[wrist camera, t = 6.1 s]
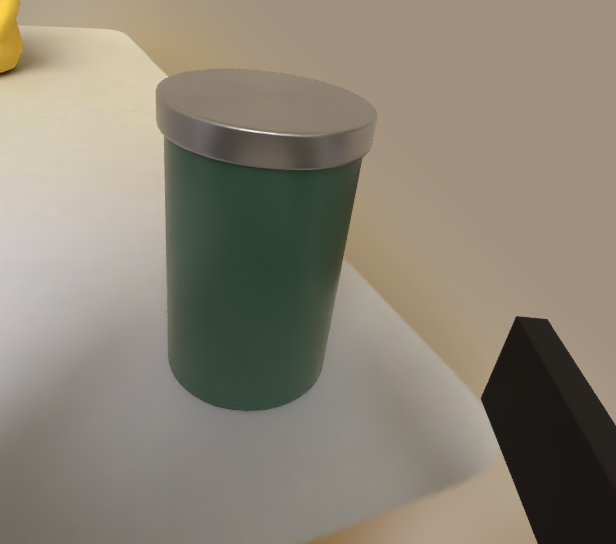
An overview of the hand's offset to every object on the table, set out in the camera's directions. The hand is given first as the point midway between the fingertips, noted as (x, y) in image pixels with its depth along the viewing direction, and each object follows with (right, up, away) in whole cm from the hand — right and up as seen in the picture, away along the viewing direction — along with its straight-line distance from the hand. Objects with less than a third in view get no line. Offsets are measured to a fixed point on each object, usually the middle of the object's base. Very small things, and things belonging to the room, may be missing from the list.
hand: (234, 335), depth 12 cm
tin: (-1, -2, +8) cm, 9 cm away
